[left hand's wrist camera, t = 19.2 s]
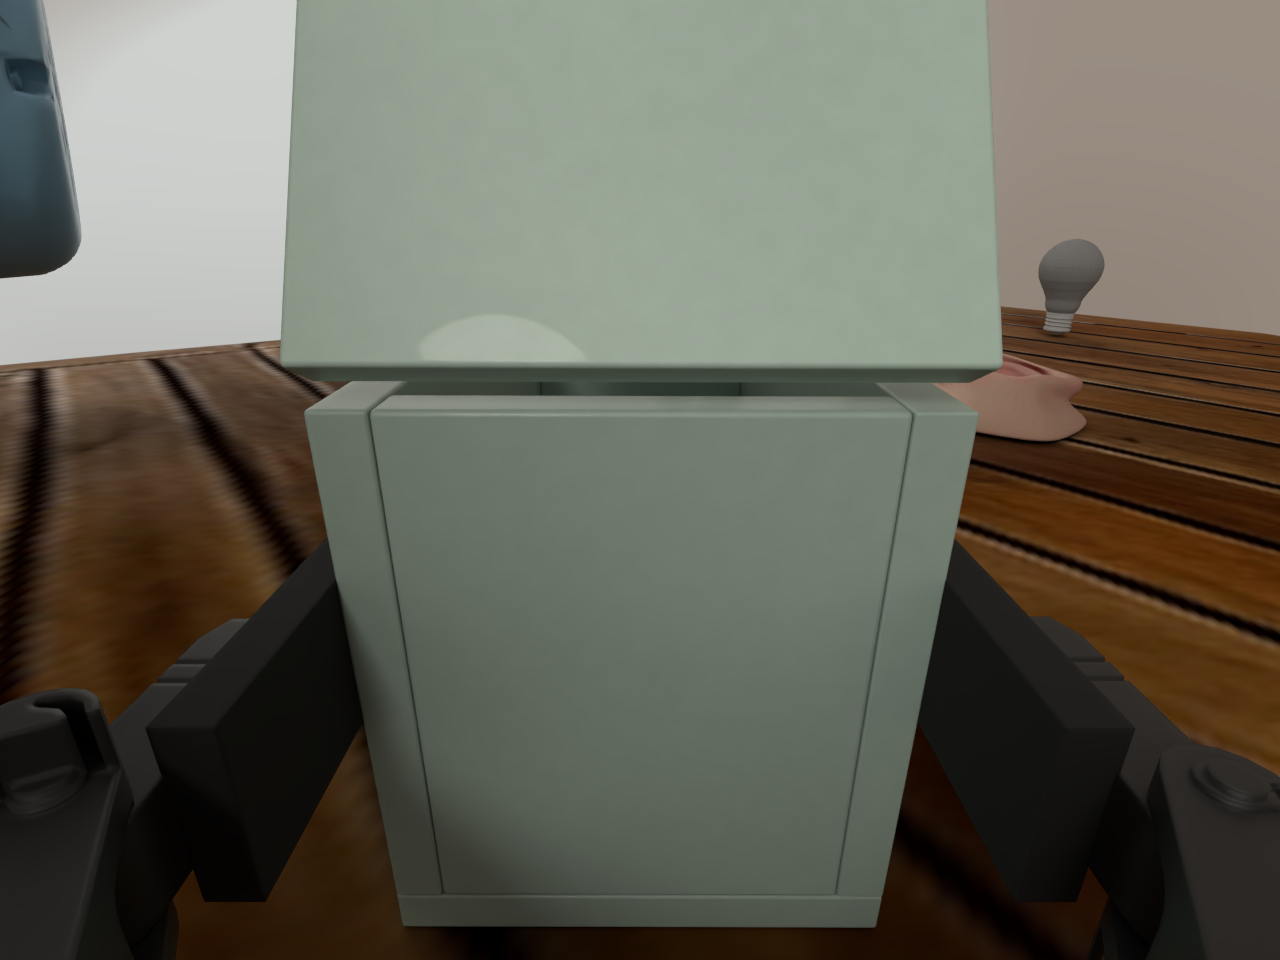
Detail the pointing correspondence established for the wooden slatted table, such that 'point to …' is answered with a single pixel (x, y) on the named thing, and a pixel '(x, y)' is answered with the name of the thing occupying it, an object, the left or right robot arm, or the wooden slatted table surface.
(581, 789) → the chest
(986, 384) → the anatomical model
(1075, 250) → the light bulb
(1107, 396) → the wooden slatted table surface
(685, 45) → the lid
